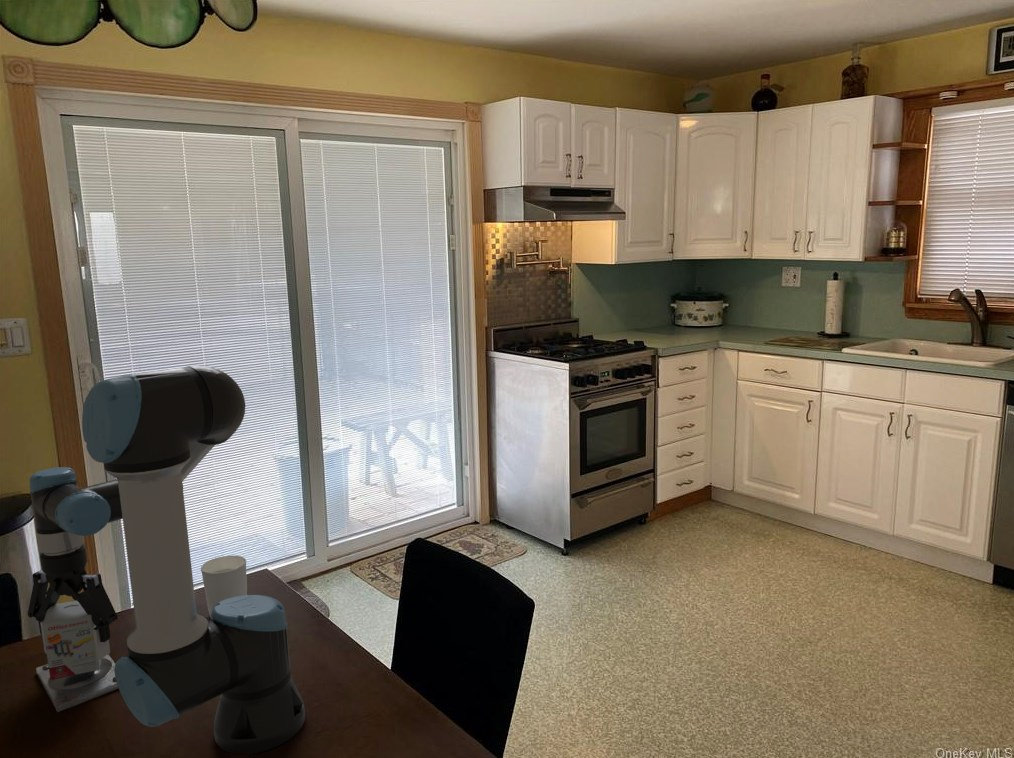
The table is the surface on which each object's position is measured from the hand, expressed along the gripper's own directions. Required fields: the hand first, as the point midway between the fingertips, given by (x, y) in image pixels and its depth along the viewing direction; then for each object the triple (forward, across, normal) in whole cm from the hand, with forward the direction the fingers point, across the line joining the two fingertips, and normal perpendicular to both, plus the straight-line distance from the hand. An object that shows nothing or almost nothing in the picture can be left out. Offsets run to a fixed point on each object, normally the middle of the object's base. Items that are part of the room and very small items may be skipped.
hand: (77, 652), depth 145 cm
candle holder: (+6, -13, -30) cm, 33 cm away
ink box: (+2, 0, 0) cm, 3 cm away
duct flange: (+6, 0, 0) cm, 6 cm away
